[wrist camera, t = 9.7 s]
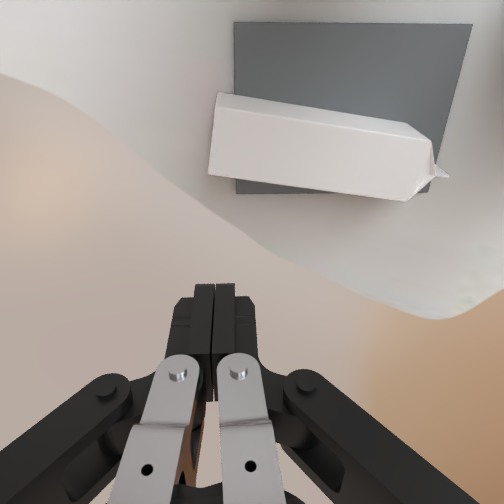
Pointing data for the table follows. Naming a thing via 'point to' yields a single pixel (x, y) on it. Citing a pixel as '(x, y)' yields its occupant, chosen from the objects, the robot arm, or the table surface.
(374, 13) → the table surface
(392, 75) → the mat
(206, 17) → the table surface
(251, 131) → the milk
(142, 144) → the table surface
